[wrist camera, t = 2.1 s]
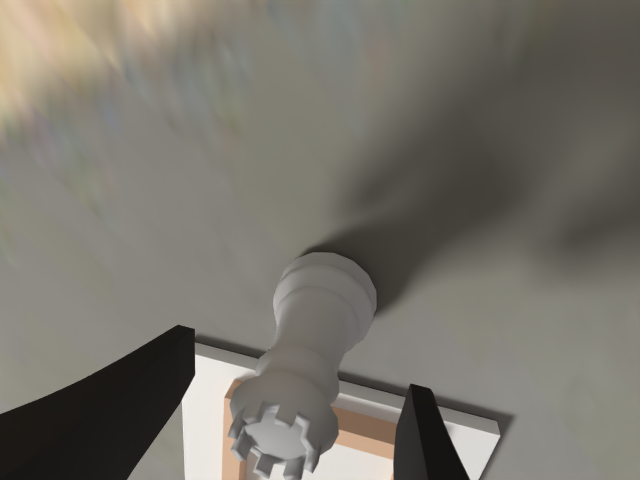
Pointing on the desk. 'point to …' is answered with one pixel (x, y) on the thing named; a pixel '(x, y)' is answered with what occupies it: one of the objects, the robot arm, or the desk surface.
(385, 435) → the socket holder
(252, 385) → the rook chess piece
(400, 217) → the desk surface
